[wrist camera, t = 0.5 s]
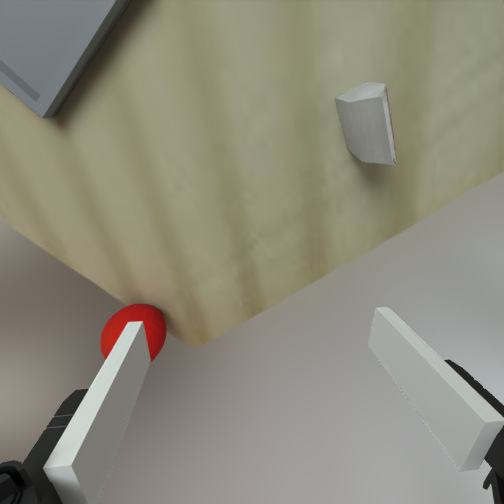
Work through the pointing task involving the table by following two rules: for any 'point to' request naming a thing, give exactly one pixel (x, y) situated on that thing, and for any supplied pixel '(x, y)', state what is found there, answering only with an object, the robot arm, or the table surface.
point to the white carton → (367, 123)
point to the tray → (51, 46)
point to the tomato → (135, 313)
